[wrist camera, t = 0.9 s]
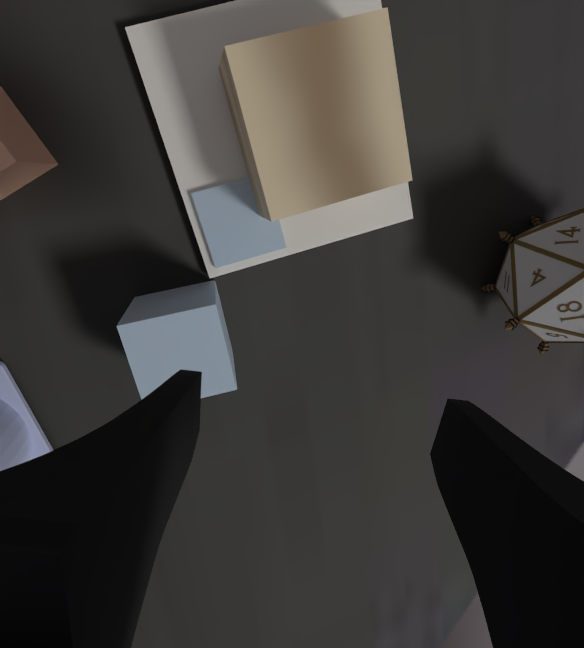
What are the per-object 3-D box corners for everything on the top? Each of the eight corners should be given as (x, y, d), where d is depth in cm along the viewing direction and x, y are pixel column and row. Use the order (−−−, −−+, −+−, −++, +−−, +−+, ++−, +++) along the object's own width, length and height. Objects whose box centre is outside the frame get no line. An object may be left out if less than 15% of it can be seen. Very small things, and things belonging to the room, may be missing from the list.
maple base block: (259, 216, 23) (271, 221, 19) (218, 67, 20) (224, 45, 17) (381, 180, 24) (412, 180, 20) (356, 34, 21) (387, 7, 18)
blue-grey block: (157, 368, 25) (145, 411, 21) (134, 296, 24) (116, 326, 19) (232, 351, 26) (237, 389, 21) (214, 279, 24) (215, 304, 20)
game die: (462, 251, 31) (461, 218, 21) (595, 196, 28) (662, 129, 18) (513, 371, 29) (536, 392, 20) (658, 326, 26) (764, 326, 17)
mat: (209, 276, 24) (209, 279, 23) (127, 31, 20) (123, 25, 19) (408, 217, 25) (415, 218, 24) (371, -29, 21) (377, -37, 20)
